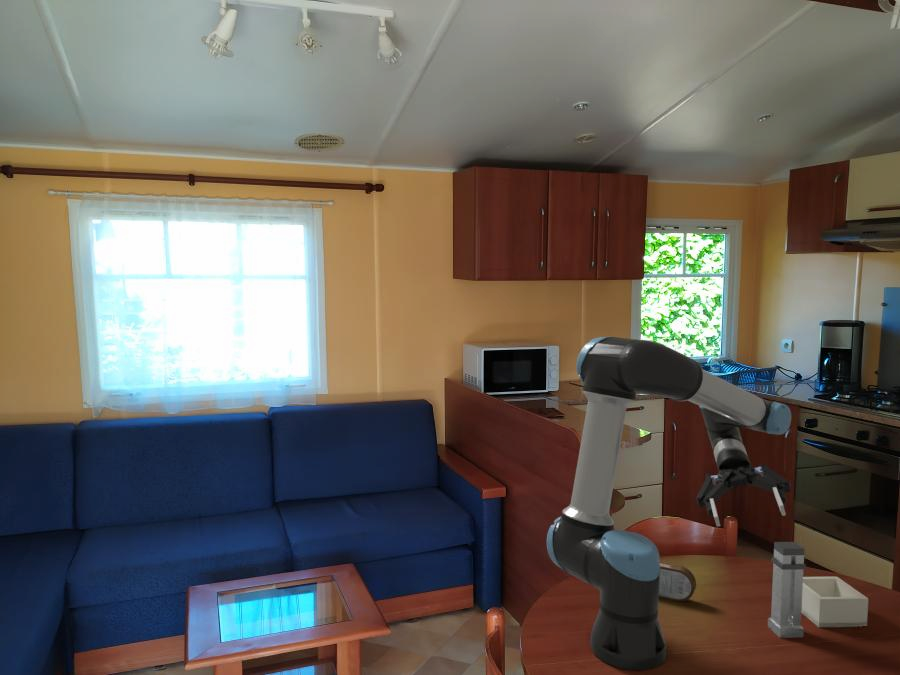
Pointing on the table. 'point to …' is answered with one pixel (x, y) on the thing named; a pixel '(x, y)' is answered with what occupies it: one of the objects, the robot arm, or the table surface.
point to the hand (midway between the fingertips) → (749, 516)
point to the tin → (676, 582)
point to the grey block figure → (787, 590)
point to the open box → (833, 603)
